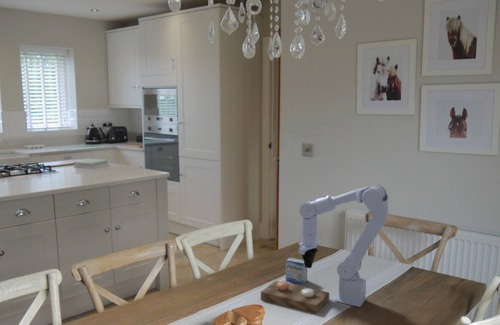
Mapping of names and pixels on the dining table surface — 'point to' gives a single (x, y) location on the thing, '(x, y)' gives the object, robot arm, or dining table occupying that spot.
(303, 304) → the board
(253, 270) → the dining table surface
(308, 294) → the white egg
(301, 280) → the medicine box
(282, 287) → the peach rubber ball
